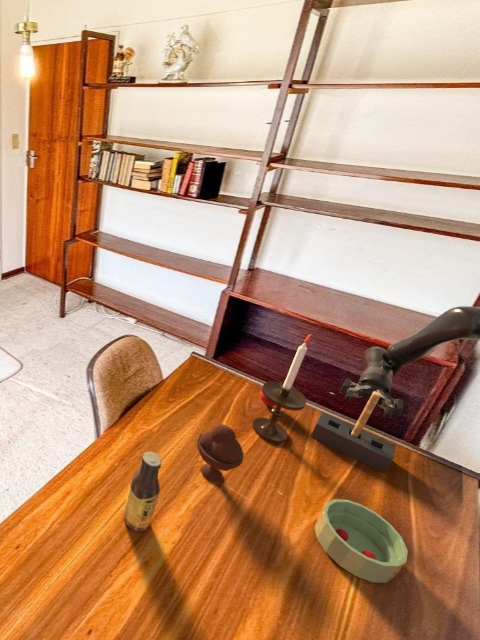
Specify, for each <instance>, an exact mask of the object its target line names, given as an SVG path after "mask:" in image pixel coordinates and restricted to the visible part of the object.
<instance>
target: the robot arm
mask: <svg viewBox="0 0 480 640" xmlns="http://www.w3.org/2000/svg"><path fill="white" fill-rule="evenodd" d="M458 340H464V341H480V306H467V305H465V306H463V305H462V306H461V305H460V306H455V307H452V308H449V309H448V310H446V311H444V312H443V313H442V314H440V315H439V316H438V317H436V318H435V319H433V320H432V321H431V322H429V323H428V324H426V325H424V327H422V328H420V329H419V330H417V332H415V333H412V334H411V335H408V336H407V337H404V338H403V339H401V340H399V341H396V342H394V343H392V344H390V345H389V346H388V347H387V349H384V348H383V347H380V346H372V347H369V348H367V349H366V350H365V351H364V352H363V354H362V357H361V361H362V366H363V368H364V370H363V372H362V373H361V374H360V377H359V380H358V382H357V383H355V382H353V381H352V379H351V378H350V377H346V379H345V380H344V381H343V383H342V385H341V387H340V389H339V392H340V393H342V394H345V397H344V399H345V400H346V402H347V403H351V401H352V399H353V397H354V398H362V399H365V400H368V401H369V399H370V397H371V395H372V393H373V392H374V391H376V392H379V393H380V394H381V396H380V398H379V400H378V402H377V404H376V405H377V406H378V407H379V408H380V409H383V410H384V413H383V417H382V418H384V419H387V418H388V419H390V418H391V417H392V415H393V414H394V415H395V416H397V417H400V416H401V413H402V412H403V410H404V399H402V398H399V397H398V398H397V399H396V398H393V397H392V396H391V395H390V393H391V389H392V386H393V378H394V377H395V376H397V375H399V374H400V373H401V372H402V370H404V369H405V368H406V367H407V366H409V365H410V364H412V363H414V362H417V361H420V360H423V359H424V358H426V357H428V356H430V355H431V354H432V353H433V352H434V351H435V350H436V348H437V347H438V346H440V345H442V344H445V343H449V342H453V341H458Z"/></svg>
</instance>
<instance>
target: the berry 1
mask: <svg viewBox="0 0 480 640" xmlns="http://www.w3.org/2000/svg"><path fill="white" fill-rule="evenodd" d="M336 533H337V534H338V535H339V536H340V537H341V538H342V539H343V540H344V541H347V540H348V538H349V536H348V534H347V532H346V531H344V530H343V529H337V530H336Z"/></svg>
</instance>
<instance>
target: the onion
mask: <svg viewBox="0 0 480 640" xmlns="http://www.w3.org/2000/svg"><path fill="white" fill-rule="evenodd" d="M259 398H260V399H261V401H262V402H263V404H264V405H265V406H267V407H276V405H275V404H273V403H272V402H270V401H269V400H268V399H267V398H266V397H265V396H264V395H263V393H262V389H261V390H260V391H259Z"/></svg>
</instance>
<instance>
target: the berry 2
mask: <svg viewBox="0 0 480 640" xmlns="http://www.w3.org/2000/svg"><path fill="white" fill-rule="evenodd" d="M362 554H363V555H365V556H367V557H369V558H372V559H375V560H376V558H375V556H374V554H373V553H372V552H370V551H367V550H364V551H362Z"/></svg>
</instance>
